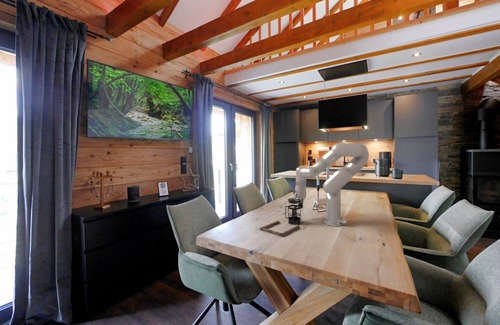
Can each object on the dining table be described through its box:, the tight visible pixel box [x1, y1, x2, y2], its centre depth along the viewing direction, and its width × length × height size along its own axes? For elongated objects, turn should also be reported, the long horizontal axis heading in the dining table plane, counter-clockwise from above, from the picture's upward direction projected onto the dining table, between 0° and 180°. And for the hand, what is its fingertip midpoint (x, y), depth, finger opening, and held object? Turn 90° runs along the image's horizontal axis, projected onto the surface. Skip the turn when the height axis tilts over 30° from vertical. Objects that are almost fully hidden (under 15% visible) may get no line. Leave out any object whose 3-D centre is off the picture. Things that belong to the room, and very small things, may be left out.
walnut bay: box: [259, 220, 301, 238], centre depth 142 cm, size 18×20×2 cm
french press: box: [284, 190, 302, 226], centre depth 154 cm, size 12×9×23 cm
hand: (300, 207), depth 162 cm, fingers closed
